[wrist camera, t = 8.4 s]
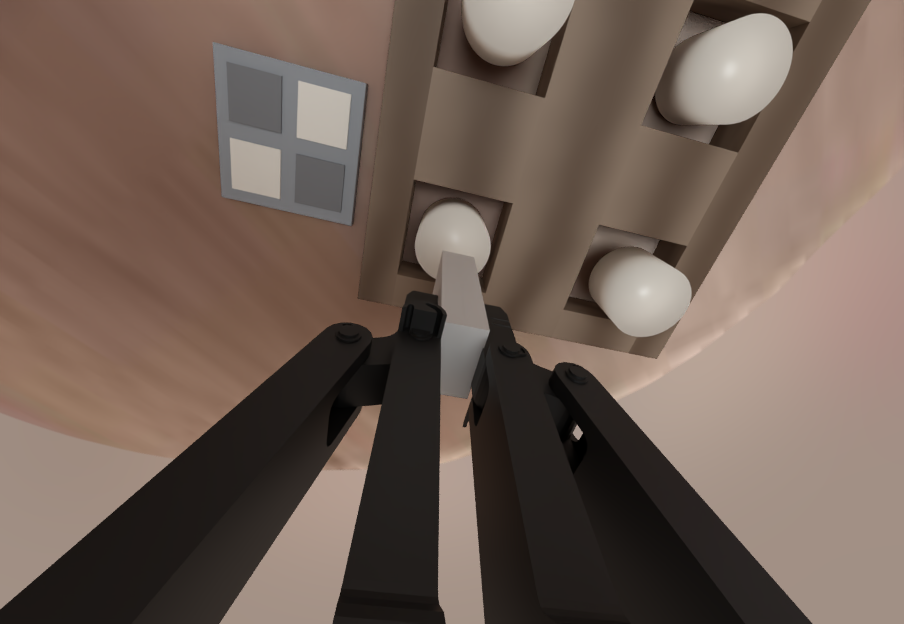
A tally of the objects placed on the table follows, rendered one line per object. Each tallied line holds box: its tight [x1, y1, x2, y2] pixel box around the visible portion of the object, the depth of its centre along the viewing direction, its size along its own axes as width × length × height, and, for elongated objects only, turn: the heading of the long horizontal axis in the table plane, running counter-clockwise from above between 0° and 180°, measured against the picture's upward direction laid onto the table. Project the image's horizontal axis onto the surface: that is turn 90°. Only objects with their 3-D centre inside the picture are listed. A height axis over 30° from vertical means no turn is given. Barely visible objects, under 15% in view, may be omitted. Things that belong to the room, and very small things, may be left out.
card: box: [213, 42, 368, 226], centre depth 24 cm, size 9×9×1 cm
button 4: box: [655, 13, 793, 125], centre depth 20 cm, size 5×5×4 cm
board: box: [358, 0, 871, 359], centre depth 23 cm, size 24×24×3 cm
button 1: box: [415, 198, 491, 279], centre depth 24 cm, size 5×5×4 cm
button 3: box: [589, 247, 692, 337], centre depth 24 cm, size 5×5×4 cm
